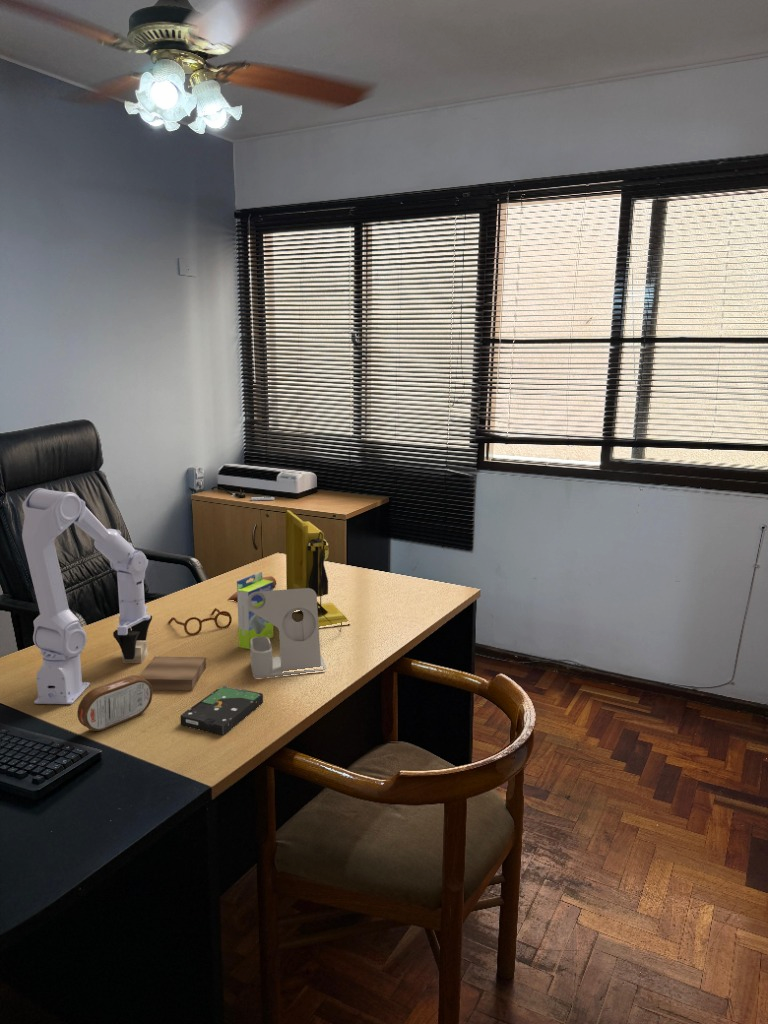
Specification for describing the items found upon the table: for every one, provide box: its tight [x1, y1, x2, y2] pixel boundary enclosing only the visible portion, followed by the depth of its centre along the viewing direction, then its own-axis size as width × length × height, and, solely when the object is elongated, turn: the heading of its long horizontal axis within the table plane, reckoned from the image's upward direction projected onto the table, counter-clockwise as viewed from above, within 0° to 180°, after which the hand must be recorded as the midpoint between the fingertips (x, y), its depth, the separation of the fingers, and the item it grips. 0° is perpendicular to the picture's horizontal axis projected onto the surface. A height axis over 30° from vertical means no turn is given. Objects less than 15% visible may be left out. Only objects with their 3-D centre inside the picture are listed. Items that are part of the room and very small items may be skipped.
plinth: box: [139, 656, 207, 691], centre depth 159 cm, size 12×12×2 cm
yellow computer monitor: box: [285, 509, 349, 633], centre depth 194 cm, size 31×14×30 cm, turn 22°
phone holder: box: [247, 588, 328, 679], centre depth 165 cm, size 17×10×18 cm, turn 105°
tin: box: [76, 674, 154, 732], centre depth 139 cm, size 15×3×8 cm, turn 141°
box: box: [236, 571, 274, 650], centre depth 179 cm, size 10×4×17 cm, turn 152°
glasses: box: [168, 607, 233, 636], centre depth 192 cm, size 13×13×5 cm
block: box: [121, 640, 149, 664], centre depth 169 cm, size 4×4×4 cm
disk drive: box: [179, 685, 264, 736], centre depth 144 cm, size 10×3×15 cm
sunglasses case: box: [227, 575, 277, 602], centre depth 218 cm, size 18×7×7 cm
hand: (135, 652), depth 169 cm, fingers open, 7 cm apart
